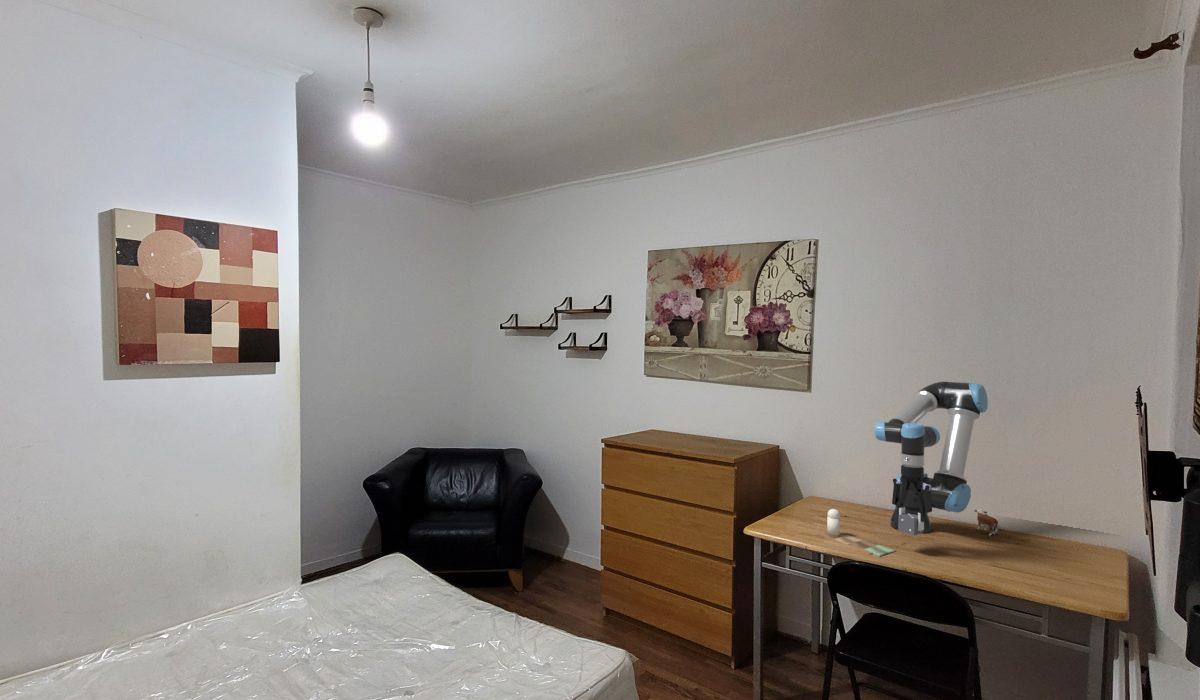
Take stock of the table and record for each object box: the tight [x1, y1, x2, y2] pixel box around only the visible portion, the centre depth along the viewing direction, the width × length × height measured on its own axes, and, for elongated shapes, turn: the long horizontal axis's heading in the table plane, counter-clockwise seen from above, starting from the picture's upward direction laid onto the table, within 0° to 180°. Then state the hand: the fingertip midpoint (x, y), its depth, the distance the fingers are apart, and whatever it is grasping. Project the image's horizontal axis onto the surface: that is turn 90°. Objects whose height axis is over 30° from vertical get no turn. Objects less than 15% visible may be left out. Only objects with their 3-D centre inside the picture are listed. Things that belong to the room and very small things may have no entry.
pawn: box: [826, 508, 841, 537], centre depth 236 cm, size 5×5×10 cm
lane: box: [818, 532, 896, 557], centre depth 228 cm, size 10×26×1 cm, turn 33°
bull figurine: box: [974, 508, 999, 536], centre depth 244 cm, size 4×13×8 cm, turn 174°
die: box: [897, 513, 924, 536], centre depth 219 cm, size 6×6×6 cm
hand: (911, 527), depth 220 cm, fingers open, 6 cm apart
